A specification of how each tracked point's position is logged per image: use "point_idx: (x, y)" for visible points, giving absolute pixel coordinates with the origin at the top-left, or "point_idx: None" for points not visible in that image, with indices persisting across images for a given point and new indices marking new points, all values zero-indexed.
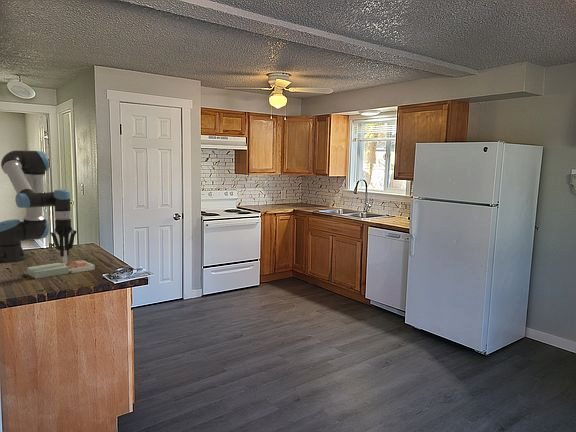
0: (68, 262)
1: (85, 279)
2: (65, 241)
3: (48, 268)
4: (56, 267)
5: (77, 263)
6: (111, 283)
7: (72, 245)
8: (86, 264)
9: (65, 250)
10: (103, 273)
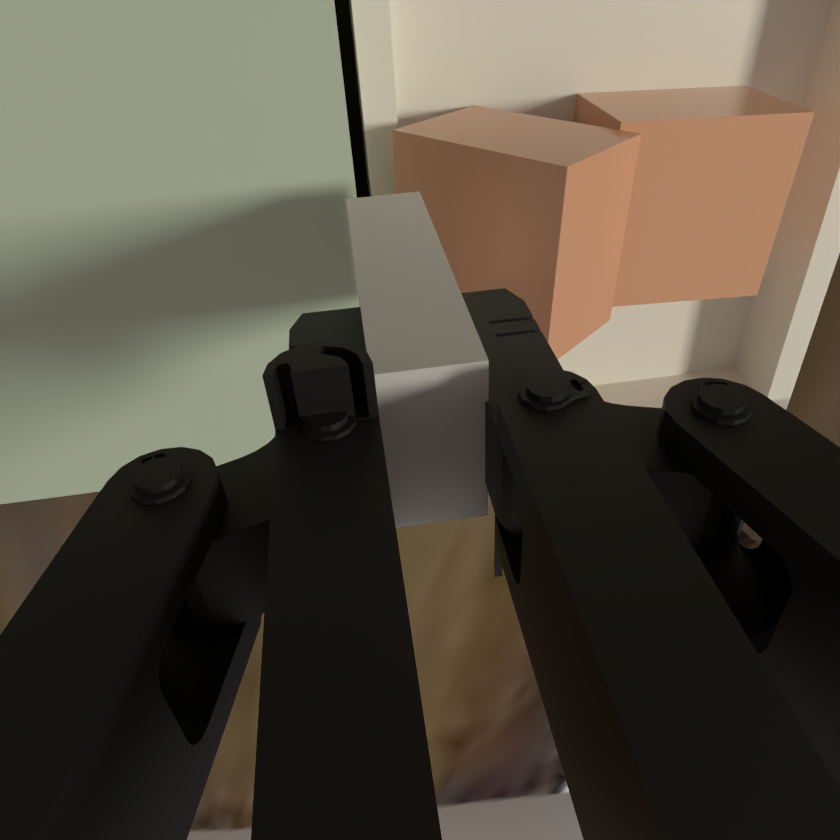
0: (474, 217)
1: (439, 664)
2: (601, 822)
3: (18, 394)
4: (176, 393)
5: (616, 282)
6: (543, 792)
7: (772, 599)
8: (822, 128)
9: (447, 509)
10: None
